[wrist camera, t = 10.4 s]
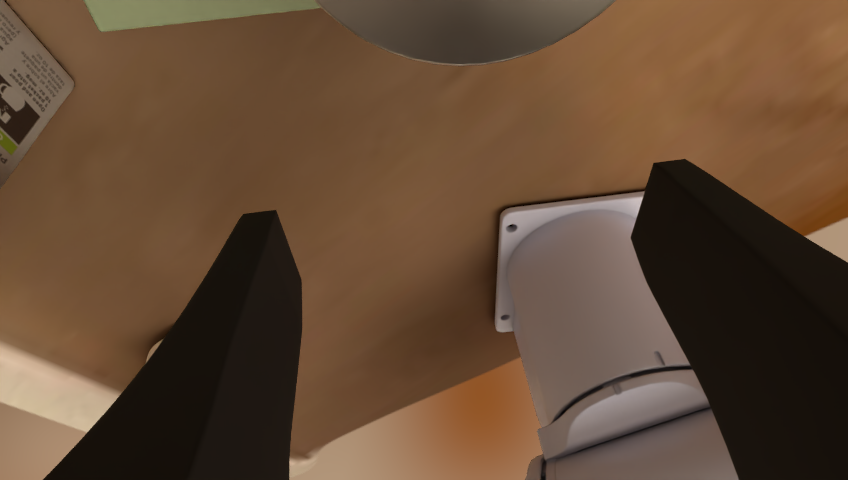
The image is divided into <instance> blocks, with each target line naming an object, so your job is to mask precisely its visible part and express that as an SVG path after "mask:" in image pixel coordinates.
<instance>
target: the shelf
mask: <svg viewBox="0 0 848 480" xmlns="http://www.w3.org/2000/svg"><path fill="white" fill-rule="evenodd" d="M83 1H84V2H85V4H86V6H87V8H88V10H89V12H90V14H91V16H92V18H93V20H94V22H95V24H96V26H97V28H98V30H99V31H100V32H108V31H117V30H126V29H135V28H144V27H153V26H162V25H172V24H181V23H190V22H199V21H208V20H217V19H226V18H235V17H244V16H254V15H263V14H272V13H281V12H290V11H299V10H308V9H317V8H321V7H320V6H319V5H318V4H317V3H316V2H315V1H314V0H83Z"/></svg>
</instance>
